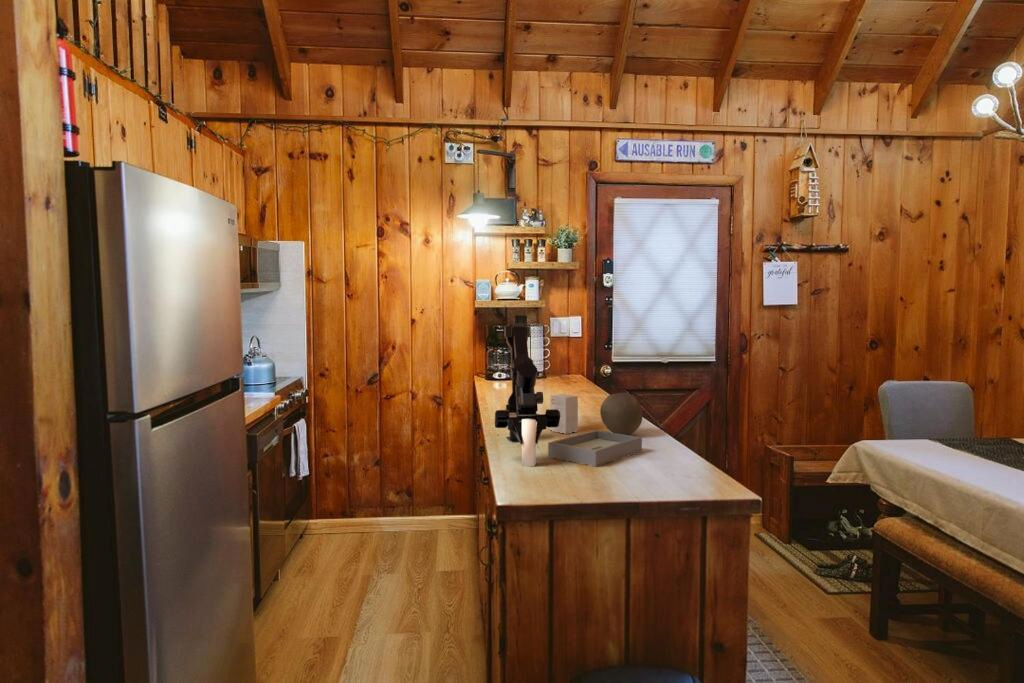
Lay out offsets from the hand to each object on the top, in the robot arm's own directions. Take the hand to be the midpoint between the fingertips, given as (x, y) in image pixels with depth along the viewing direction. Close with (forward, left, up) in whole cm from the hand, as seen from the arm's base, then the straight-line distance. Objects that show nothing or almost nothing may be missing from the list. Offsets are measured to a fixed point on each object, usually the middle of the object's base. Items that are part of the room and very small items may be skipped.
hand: (529, 443), depth 184 cm
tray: (-7, +24, -7) cm, 26 cm away
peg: (-1, 0, -7) cm, 7 cm away
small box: (-42, +28, -7) cm, 51 cm away
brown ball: (-29, +44, -7) cm, 54 cm away
